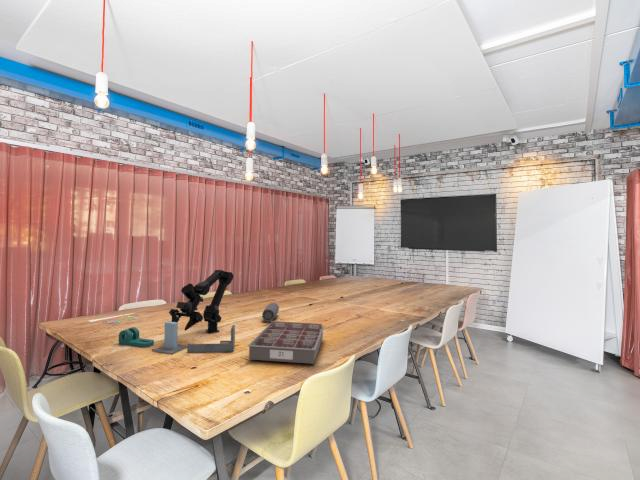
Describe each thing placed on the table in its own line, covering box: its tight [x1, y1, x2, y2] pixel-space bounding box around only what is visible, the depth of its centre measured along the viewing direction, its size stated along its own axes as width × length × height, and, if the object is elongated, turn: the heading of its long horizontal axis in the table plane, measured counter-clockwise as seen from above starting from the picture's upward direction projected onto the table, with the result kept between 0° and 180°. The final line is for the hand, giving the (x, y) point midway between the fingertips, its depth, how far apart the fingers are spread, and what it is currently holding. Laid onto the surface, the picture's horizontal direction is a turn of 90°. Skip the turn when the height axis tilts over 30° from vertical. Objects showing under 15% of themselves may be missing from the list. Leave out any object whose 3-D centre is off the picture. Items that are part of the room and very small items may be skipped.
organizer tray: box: [247, 320, 325, 365], centre depth 173 cm, size 32×40×10 cm
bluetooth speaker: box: [261, 302, 280, 322], centre depth 235 cm, size 23×9×10 cm, turn 179°
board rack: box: [186, 324, 236, 354], centre depth 169 cm, size 6×22×12 cm, turn 97°
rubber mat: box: [151, 343, 187, 355], centre depth 170 cm, size 12×12×1 cm
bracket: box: [118, 326, 155, 349], centre depth 176 cm, size 18×7×8 cm, turn 75°
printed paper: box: [88, 312, 140, 325], centre depth 222 cm, size 30×30×2 cm
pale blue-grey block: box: [163, 321, 179, 350], centre depth 170 cm, size 2×6×13 cm, turn 71°
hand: (177, 329), depth 174 cm, fingers open, 9 cm apart
